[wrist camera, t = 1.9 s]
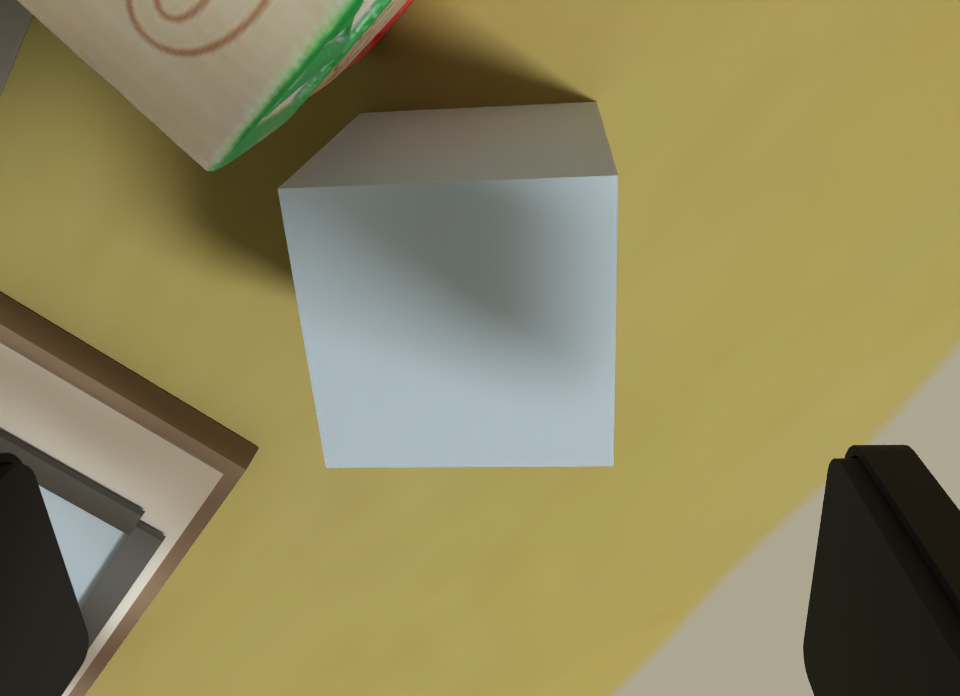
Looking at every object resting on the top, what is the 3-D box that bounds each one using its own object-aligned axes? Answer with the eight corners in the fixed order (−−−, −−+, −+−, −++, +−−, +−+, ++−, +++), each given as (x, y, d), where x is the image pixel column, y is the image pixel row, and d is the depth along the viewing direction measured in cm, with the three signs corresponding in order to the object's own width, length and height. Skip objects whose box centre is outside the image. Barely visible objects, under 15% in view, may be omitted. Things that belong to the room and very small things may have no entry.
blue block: (360, 112, 17) (277, 188, 12) (596, 101, 17) (618, 175, 12) (386, 324, 20) (325, 468, 14) (595, 319, 19) (613, 466, 14)
